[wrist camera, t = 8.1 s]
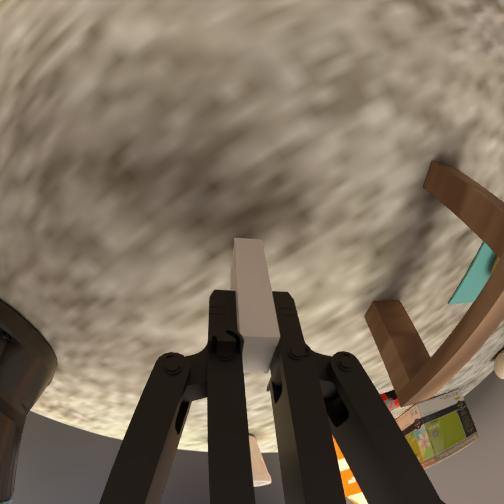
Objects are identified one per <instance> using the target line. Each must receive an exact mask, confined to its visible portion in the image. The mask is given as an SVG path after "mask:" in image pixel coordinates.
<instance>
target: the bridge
mask: <svg viewBox="0 0 504 504" xmlns="http://www.w3.org/2000/svg"><path fill="white" fill-rule="evenodd" d="M423 188H425V189H426V190H427V191H428V192H430V193H431V194H432V195H433V196H434V197H436V198H437V199H438V200H439V201H440V202H442V203H443V204H444V205H445V206H446V207H447V208H449V209H450V210H451V211H452V212H453V213H454V214H455V215H456V216H458V217H459V218H460V219H461V220H462V221H463V222H464V223H465V224H466V225H467V226H468V227H469V228H470V229H471V230H473V231H474V232H475V233H476V234H477V235H478V236H479V237H480V238H481V239H482V240H483V241H484V242H485V243H486V244H487V245H488V247H489V248H490V249H491V250H492V251H493V252H494V253H495V254H496V255H497V256H498V257H499V258H500V260H499V262H498V264H497V265H496V267H495V269H494V271H493V272H492V274H491V276H490V277H489V279H488V281H487V282H486V284H485V285H484V287H483V289H482V290H481V292H480V293H479V295H478V296H477V298H476V299H475V301H474V302H473V304H472V305H471V307H470V308H469V310H468V311H467V312H466V314H465V315H464V317H463V318H462V319H461V321H460V322H459V323H458V325H457V326H456V327H455V329H454V330H453V331H452V333H451V334H450V335H449V336H448V338H447V339H446V340H445V341H444V343H443V344H442V345H441V346H440V348H439V349H438V350H437V351H436V352H435V353H434V355H433V356H432V357H431V358H430V356H429V354H428V352H427V350H426V348H425V346H424V344H423V342H422V340H421V338H420V336H419V334H418V332H417V330H416V329H415V327H414V325H413V323H412V321H411V319H410V318H409V316H408V314H407V312H406V310H405V309H404V307H403V305H402V303H401V302H400V301H373V303H372V305H371V306H370V308H369V310H368V312H367V314H366V316H365V320H366V322H367V324H368V326H369V329H370V331H371V333H372V336H373V338H374V340H375V343H376V345H377V347H378V350H379V352H380V355H381V357H382V359H383V362H384V364H385V367H386V369H387V372H388V374H389V377H390V380H391V382H392V385H393V387H394V390H395V393H396V395H397V398H398V401H399V404H400V406H401V407H405V406H408V405H412V404H415V403H418V402H421V401H425V400H428V399H430V398H431V397H432V396H433V395H434V394H435V393H436V392H438V391H439V390H440V389H441V388H442V387H443V386H444V385H445V384H446V383H447V382H448V381H449V380H450V379H451V378H452V377H453V376H454V375H455V374H456V373H457V372H458V371H459V370H460V369H461V368H462V367H463V366H464V365H465V364H466V363H467V362H468V361H469V360H470V359H471V358H472V357H473V356H474V354H475V353H476V352H477V351H478V350H479V349H480V348H481V347H482V345H483V344H484V343H485V342H486V341H487V339H488V338H489V337H490V336H491V335H492V333H493V332H494V331H495V330H496V328H497V327H498V326H499V324H500V323H501V322H502V321H503V319H504V202H502V201H501V200H500V199H498V198H497V197H496V196H495V195H493V194H492V193H491V192H489V191H488V190H487V189H485V188H484V187H482V186H481V185H480V184H478V183H477V182H475V181H474V180H473V179H471V178H470V177H468V176H467V175H465V174H464V173H462V172H461V171H459V170H457V169H454V168H451V167H449V166H446V165H443V164H440V163H437V162H434V161H432V163H431V166H430V169H429V172H428V175H427V178H426V181H425V184H424V187H423Z"/></svg>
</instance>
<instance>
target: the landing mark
mask: <svg viewBox="0 0 504 504" xmlns="http://www.w3.org/2000/svg"><path fill="white" fill-rule="evenodd" d="M496 258H497V255H496V254H495V253H494V252H493V251H492V250H491V249H490V248H489V247H488V245H487V244H486V243H485V242H484V241H483V243H482V245H481V247H480V249H479V251H478V253H477V255H476V257H475V259H474V260H473V262H472V264H471V266H470V268H469V269H468V271H467V273H466V275H465V276H464V278H463V280H462V281H461V283H460V285H459V286H458V288H457V290H456V291H455V293H454V294H453V296H452V298H451V299H450V301H449V302H448V304H459V303H469V302H474V301H475V299H476V298H477V296H478V295H479V293H480V292H481V290H482V289H483V287H484V285H485V284H486V282H487V281H488V279H489V277H490V276H491V274H492V268H493V264H494V261H495V259H496Z"/></svg>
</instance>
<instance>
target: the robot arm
mask: <svg viewBox="0 0 504 504" xmlns="http://www.w3.org/2000/svg"><path fill="white" fill-rule="evenodd" d="M230 280H231V291H230V290H214V291H213V293H212V294H211V296H210V300H209V328H208V343H207V345H206V347H205V348H204V349H203V350H202V351H201V352H199V353H197V354H194V355H190V356H186V357H184V356H183V355H181V354H179V353H173V352H170V353H165V354H163V355H162V356H160V357H159V358H158V360H157V361H156V363H155V365H154V367H153V370H152V372H151V374H150V377H149V379H148V381H147V383H146V386H145V388H144V390H143V393H142V395H141V398H140V400H139V402H138V405H137V407H136V409H135V412H134V414H133V417H132V419H131V422H130V424H129V426H128V429H127V431H126V434H125V436H124V439H123V441H122V444H121V447H120V449H119V452H118V455H117V457H116V460H115V462H114V465H113V467H112V470H111V473H110V475H109V478H108V481H107V484H106V487H105V489H104V492H103V495H102V498H101V500H100V503H99V504H160V502H161V499H162V496H163V492H164V489H165V486H166V483H167V479H168V476H169V473H170V469H171V466H172V463H173V460H174V457H175V453H176V450H177V447H178V444H179V441H180V438H181V434H182V431H183V428H184V425H185V422H186V419H187V415H188V412H189V409H190V406H191V403H192V401H194V400H198V399H202V398H206V397H207V411H208V460H209V461H208V462H209V488H210V504H255V495H254V484H253V474H252V464H251V453H250V443H249V432H248V420H247V409H246V397H245V384H244V373H268V371H269V369H270V370H271V378H270V381H269V383H268V386H267V391H269V390H270V392H271V400H272V407H273V415H274V422H275V430H276V438H277V445H278V453H279V461H280V468H281V475H282V484H283V491H284V499H285V504H346V500H345V494H344V489H343V484H342V480H341V474H340V470H339V465H338V460H337V455H336V451H335V446H334V441H333V437H334V439H335V441H336V443H337V445H338V447H339V449H340V451H341V453H342V455H343V457H344V458H345V460H346V462H347V464H348V466H349V468H350V470H351V472H352V474H353V476H354V478H355V480H356V482H357V484H358V486H359V488H360V489H361V491H362V493H363V495H364V497H365V499H366V501H367V503H368V504H445V503H444V502H443V501H441V500H440V498H439V496H438V494H437V493H436V490H435V489H434V487H433V485H432V483H431V481H430V480H429V478H428V476H427V474H426V473H425V471H424V469H423V467H422V465H421V464H420V462H419V460H418V458H417V457H416V455H415V453H414V451H413V450H412V448H411V446H410V444H409V443H408V441H407V439H406V438H405V436H404V434H403V433H402V431H401V429H400V427H399V426H398V424H397V422H396V421H395V419H394V417H393V416H392V414H391V412H390V411H389V409H388V407H387V406H386V404H385V402H384V401H383V399H382V398H381V396H380V394H379V393H378V391H377V389H376V388H375V386H374V385H373V383H372V381H371V380H370V378H369V376H368V375H367V373H366V372H365V370H364V368H363V367H362V365H361V364H360V362H359V361H358V359H357V358H356V357H355V356H354V355H353V354H351V353H349V352H344V351H342V352H337V353H336V354H334V355H333V357H331V356H327V355H323V354H319V353H316V352H314V351H312V350H311V349H310V347H309V346H308V345H307V344H306V343H305V341H304V338H303V334H302V330H301V326H300V322H299V318H298V316H297V315H298V314H297V310H296V306H295V302H294V299H293V298H292V297H291V295H290V294H289V293H288V292H275V291H272V290H271V284H270V279H269V274H268V269H267V264H266V258H265V253H264V248H263V243H262V239H246V238H234V246H233V256H232V265H231V275H230ZM56 367H57V360H56V357H55V355H54V353H53V351H52V349H51V348H50V346H49V345H48V343H47V342H46V341H45V340H44V338H43V337H42V336H41V335H40V334H39V333H38V332H37V331H36V330H35V329H34V328H33V327H32V326H31V325H30V324H29V323H28V322H27V321H26V320H25V319H24V318H23V317H21V316H20V315H19V314H18V313H17V312H15V311H14V310H13V309H12V308H10V307H9V306H7V305H6V304H5V303H3V302H2V301H0V504H12V501H13V499H14V484H15V474H16V467H17V460H18V454H19V448H20V443H21V437H22V433H23V428H24V424H25V420H26V417H27V414H28V412H29V411H30V409H31V408H32V407H33V405H34V404H35V403H36V401H37V400H38V398H39V397H40V396H41V394H42V393H43V391H44V390H45V388H46V387H47V386H48V385H49V384H50V383H51V381H52V379H53V376H54V373H55V370H56ZM332 435H333V437H332Z"/></svg>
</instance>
